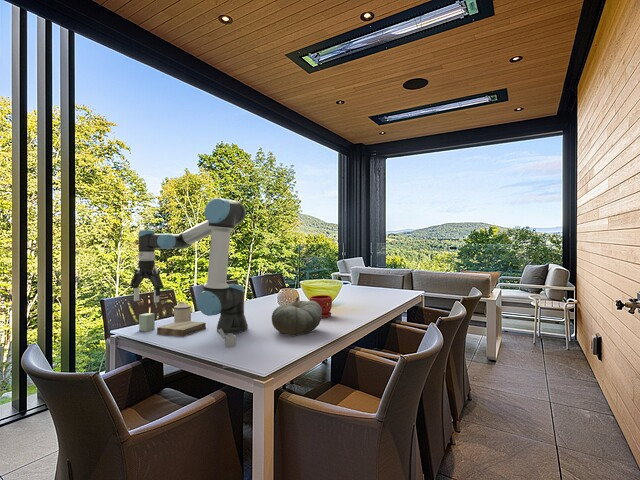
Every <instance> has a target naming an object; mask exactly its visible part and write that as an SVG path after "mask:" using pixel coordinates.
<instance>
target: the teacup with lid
mask: <svg viewBox="0 0 640 480" xmlns="http://www.w3.org/2000/svg"><path fill="white" fill-rule="evenodd" d="M173 310H174V311H173V315H174V316H173V323H174V322H178V321H192V313H191V312H192V311H191V310H192V305H190V304H189V303H186V302H185V301H184V300H183V301H180V303H178V304H177V305H174V307H173Z"/></svg>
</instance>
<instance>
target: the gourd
mask: <svg viewBox="0 0 640 480" xmlns="http://www.w3.org/2000/svg"><path fill="white" fill-rule="evenodd" d="M299 298H300V297H296V298H295V300H294V301H293V302H291V303H289V304H282V305H279V306H277V307H276V308H275V309H274V310H273V312H272V313H271V324H272V326H273V328H274V329H275V330H276V331H277V332H278V333H280V334H282V335H288V336H291V337H295V336H298V335H302V334H303V335H305V334H308V333H311V332H313V331H314V330H315V329H316V328H317V327H318V326H319V325H320V323H321V320H322V319H323V318H322V309H321V307H320V305H319V304H318V303H317V302H316V301H310V300H299Z"/></svg>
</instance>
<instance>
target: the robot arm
mask: <svg viewBox="0 0 640 480" xmlns="http://www.w3.org/2000/svg"><path fill="white" fill-rule="evenodd" d="M203 213H204V217H205V218H206V219H205V220H204V221H203V222H200V223H198V224H197V225H194V226H193V227H190V228H188V229H186V230H185V231H182V232H180V233H173V234H172V233H156V231H155V230H154V229H140V230H139V231H138V265H137V267H138V268H137V269H136V268H135V269H134V273H133V276H132V279H131V282H130V284H129V287H130V288H132V289H133V290H132V292H133V302H139V301H140V287H139V286H140V285H141V283H142V282H143V280H144V279H148V280H149V281H150V283H151V284H152V286H153V287H154V289H153V303H154V304H157V303H160V296H161V290H162V289H164V285H163V282H162V279H161V276H160V271H159V269H154V268H155V267H156V262H155V259H156V249H157V250H158V249H159V250H160V249H163V250H169V249H188V248H190V247H191V246H192V244H194V243H196V242H199V241H200V240H203V239H205V238H207V237H210V245H209V257H208V269H207V281H206V282H205V283H204V284H203V287H202V291H201V292H200V293H199V294H198V295H197V297H196V304H197V305H196V306H197V308H198V310H199V311H200V313H202V314H203V315H204V316H208V317H212V316H218V315H220V316H219V320H218V323H217V325H216V332H217V333H219V331H218V330H219V329H220V328H221V329H222V330H223V332H224V334H231V333H232V334H239V333H242V332H247V330H248V328H249V327H248V326H249V324H248V321H247V318H246V315H245V288H244V286H243V285H242V284H230V283H229V284H228V283H227V277H228V276H227V275H228V265H229V254H230V253H229V252H230V242H231V233H232V231H234V229H235V227H236V226H238V225H240V224H242V222H243V221H245V219H246V216H247V215H246V214H247V210H246V207H245V206H244V205H243V204H242V203H241V201H238V200H233V199H228V198H223V197H222V198H221V197H215V198H214V197H213V198H212V199H210V200H209V201H208V202H207V203H206V205H205V207H204V212H203Z"/></svg>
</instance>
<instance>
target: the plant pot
mask: <svg viewBox="0 0 640 480" xmlns="http://www.w3.org/2000/svg"><path fill="white" fill-rule="evenodd" d="M309 301H316V302H317V303H318V304H319V305H320V307H321V309H322V318H321V319H326V318H329V317H331V315H332V312H331V310H332V306H333V305H332V304H333V297H332V296H331V295H329V294H326V295H325V294H321V295H312V296H310V297H309Z"/></svg>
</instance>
